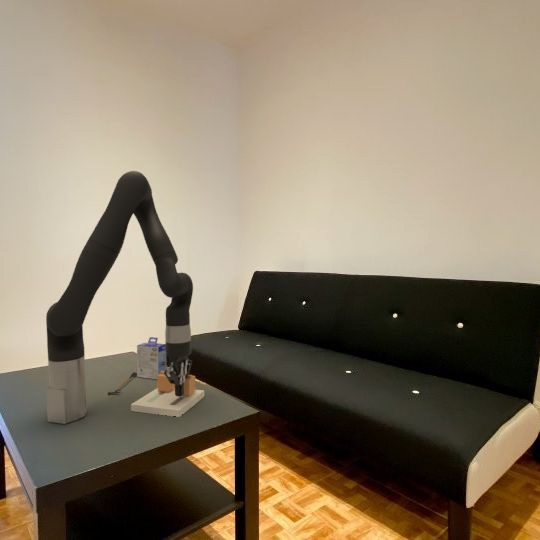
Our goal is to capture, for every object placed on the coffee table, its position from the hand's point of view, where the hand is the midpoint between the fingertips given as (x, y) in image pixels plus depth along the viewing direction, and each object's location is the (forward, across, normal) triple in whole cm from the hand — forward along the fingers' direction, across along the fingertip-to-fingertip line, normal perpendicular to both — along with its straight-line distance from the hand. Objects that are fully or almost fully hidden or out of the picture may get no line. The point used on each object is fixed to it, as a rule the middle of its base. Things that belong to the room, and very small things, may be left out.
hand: (179, 395), depth 119 cm
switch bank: (+3, +1, +4) cm, 5 cm away
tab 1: (+1, +6, +8) cm, 10 cm away
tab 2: (+1, +5, 0) cm, 5 cm away
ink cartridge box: (+4, +22, +24) cm, 33 cm away
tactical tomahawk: (+4, +12, +28) cm, 30 cm away
